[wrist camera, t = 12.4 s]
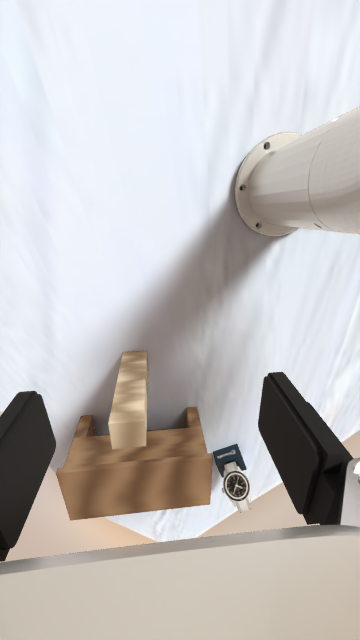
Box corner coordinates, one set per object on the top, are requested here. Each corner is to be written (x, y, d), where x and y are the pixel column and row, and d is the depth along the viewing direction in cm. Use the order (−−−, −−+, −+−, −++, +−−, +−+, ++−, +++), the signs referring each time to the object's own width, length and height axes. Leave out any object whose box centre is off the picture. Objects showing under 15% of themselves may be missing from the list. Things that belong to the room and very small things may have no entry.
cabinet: (199, 404, 50) (212, 458, 39) (198, 448, 54) (209, 506, 44) (77, 414, 48) (56, 473, 37) (87, 458, 52) (71, 523, 42)
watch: (234, 437, 54) (253, 489, 44) (243, 461, 57) (263, 514, 47) (210, 446, 54) (223, 499, 44) (220, 469, 58) (234, 523, 48)
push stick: (172, 349, 44) (182, 417, 30) (175, 443, 53) (184, 531, 38) (96, 353, 43) (67, 427, 28) (111, 449, 52) (96, 542, 37)
